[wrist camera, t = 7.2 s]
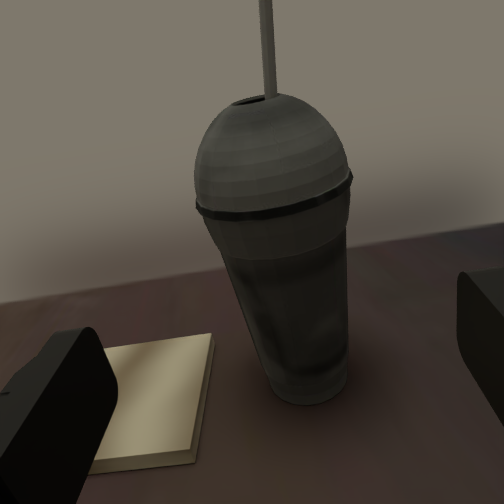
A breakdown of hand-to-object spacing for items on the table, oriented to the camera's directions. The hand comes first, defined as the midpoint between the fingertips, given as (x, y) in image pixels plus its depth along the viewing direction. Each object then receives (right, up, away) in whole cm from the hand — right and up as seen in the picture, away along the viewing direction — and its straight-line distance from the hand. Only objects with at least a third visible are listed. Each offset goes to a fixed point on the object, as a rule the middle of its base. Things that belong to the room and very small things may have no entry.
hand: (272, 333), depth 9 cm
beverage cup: (+3, -5, +15) cm, 17 cm away
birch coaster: (-8, -7, +16) cm, 19 cm away
